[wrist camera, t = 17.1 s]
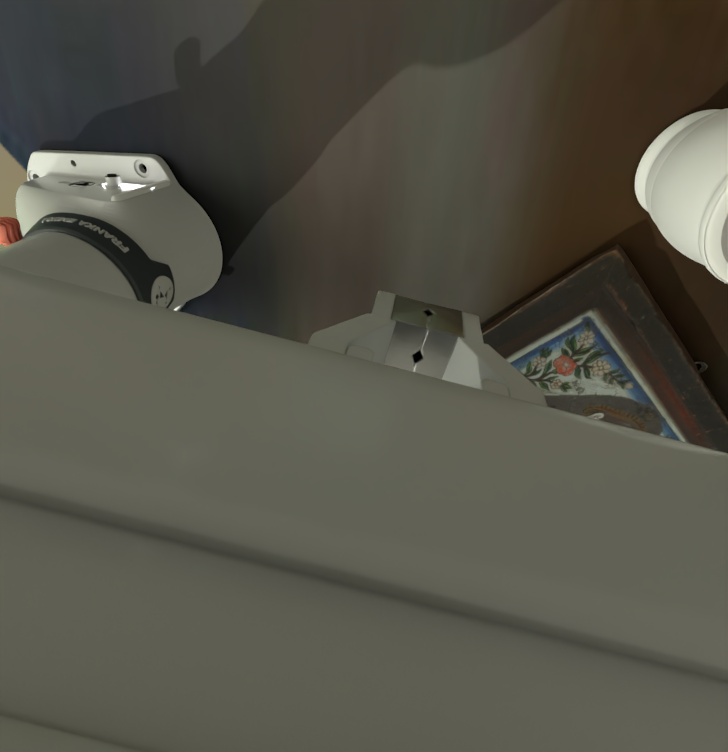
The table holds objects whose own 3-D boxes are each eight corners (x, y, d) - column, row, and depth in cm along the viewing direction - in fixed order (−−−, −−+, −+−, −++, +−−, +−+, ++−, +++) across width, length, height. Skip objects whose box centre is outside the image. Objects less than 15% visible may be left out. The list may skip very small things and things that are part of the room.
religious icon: (763, 459, 53) (778, 477, 51) (475, 550, 76) (476, 566, 74) (625, 228, 39) (637, 238, 37) (323, 424, 62) (318, 438, 60)
